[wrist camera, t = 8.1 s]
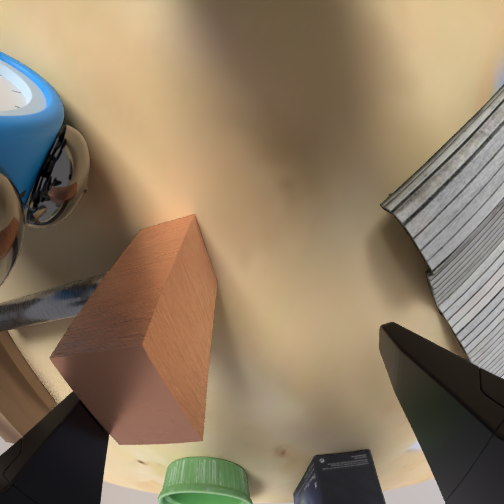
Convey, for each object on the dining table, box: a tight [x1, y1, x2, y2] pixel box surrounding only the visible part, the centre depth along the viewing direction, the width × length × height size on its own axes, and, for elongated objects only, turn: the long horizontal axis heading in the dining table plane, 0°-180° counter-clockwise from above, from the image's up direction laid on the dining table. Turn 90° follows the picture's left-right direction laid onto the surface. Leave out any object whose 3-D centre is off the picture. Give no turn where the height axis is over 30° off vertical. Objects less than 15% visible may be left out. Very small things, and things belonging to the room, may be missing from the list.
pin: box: [0, 214, 217, 445], centre depth 13 cm, size 16×4×10 cm, turn 104°
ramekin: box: [158, 457, 253, 504], centre depth 24 cm, size 9×9×4 cm
